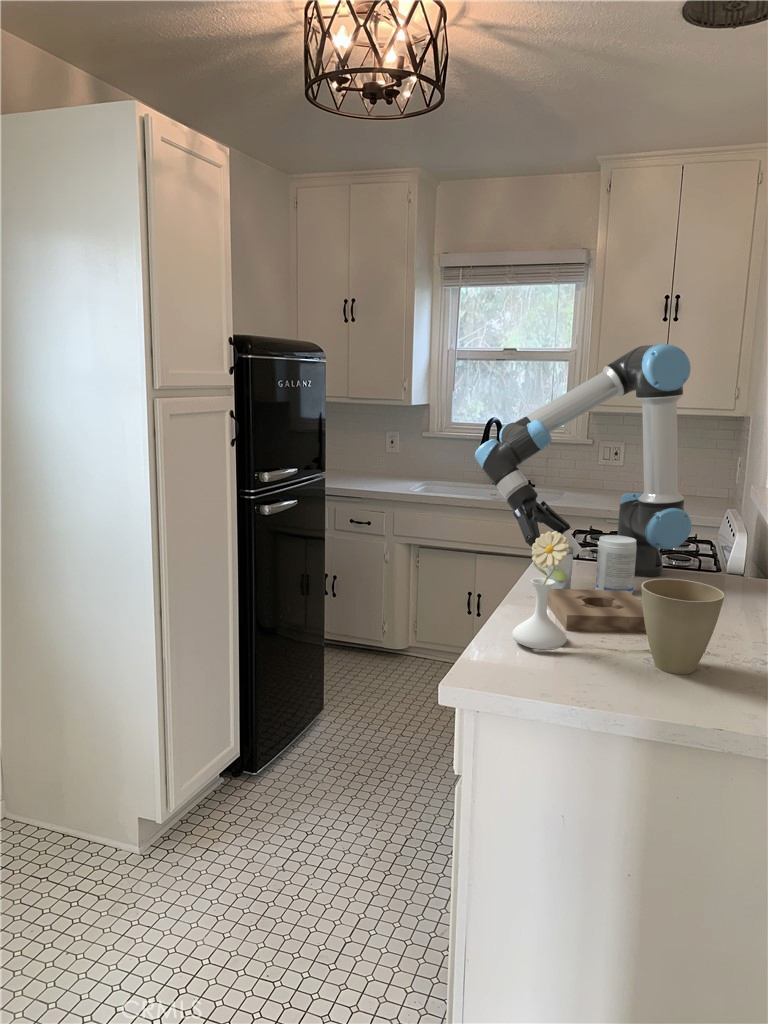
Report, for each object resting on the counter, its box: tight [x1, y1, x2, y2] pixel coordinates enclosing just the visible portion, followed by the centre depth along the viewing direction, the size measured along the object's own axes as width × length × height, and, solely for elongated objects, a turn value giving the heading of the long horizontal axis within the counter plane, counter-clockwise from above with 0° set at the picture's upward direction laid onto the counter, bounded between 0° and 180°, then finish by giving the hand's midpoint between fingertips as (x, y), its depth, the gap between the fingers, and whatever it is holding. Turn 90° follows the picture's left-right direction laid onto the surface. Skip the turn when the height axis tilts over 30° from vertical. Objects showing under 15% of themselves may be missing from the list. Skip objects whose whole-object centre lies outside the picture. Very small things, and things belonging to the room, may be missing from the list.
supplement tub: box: [594, 534, 637, 594], centre depth 193 cm, size 10×10×15 cm
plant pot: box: [641, 578, 725, 675], centre depth 144 cm, size 15×15×16 cm
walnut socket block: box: [547, 588, 647, 634], centre depth 171 cm, size 20×20×4 cm
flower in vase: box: [511, 530, 569, 650], centre depth 152 cm, size 13×11×25 cm
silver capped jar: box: [546, 546, 574, 589], centre depth 188 cm, size 6×6×13 cm
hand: (567, 558), depth 186 cm, fingers open, 13 cm apart
